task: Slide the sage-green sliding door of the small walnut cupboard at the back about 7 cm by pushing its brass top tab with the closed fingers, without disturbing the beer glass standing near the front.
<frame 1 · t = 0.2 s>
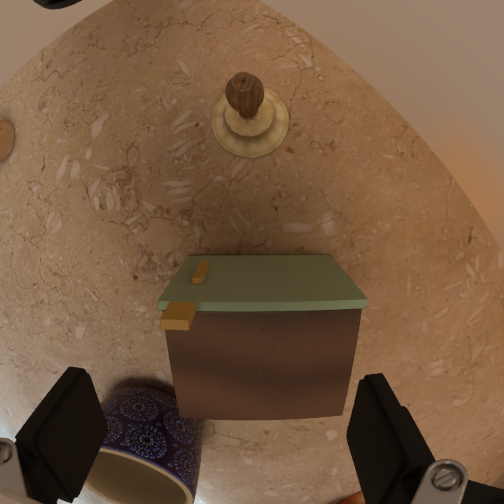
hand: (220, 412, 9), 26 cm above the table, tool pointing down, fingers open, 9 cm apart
sliding door: (261, 280, 28), point 8 cm above the table, slide at 0.0 cm
cupboard: (259, 313, 37), on the table
hand bell: (250, 121, 32), on the table
planter: (154, 412, 42), on the table
beer glass: (2, 140, 31), on the table
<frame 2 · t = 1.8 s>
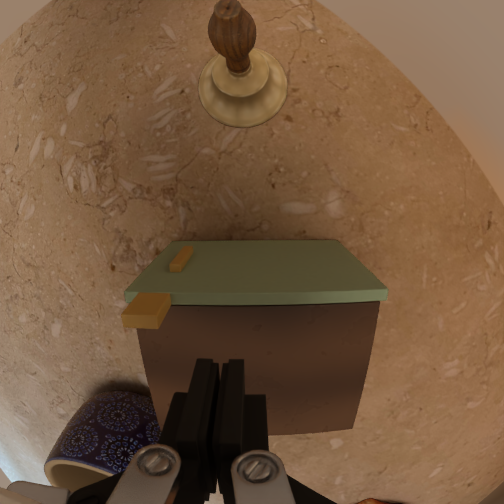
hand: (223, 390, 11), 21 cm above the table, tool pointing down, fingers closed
sliding door: (255, 267, 23), point 8 cm above the table, slide at 0.0 cm
cupboard: (255, 308, 32), on the table
hand bell: (242, 86, 27), on the table
planter: (140, 419, 37), on the table
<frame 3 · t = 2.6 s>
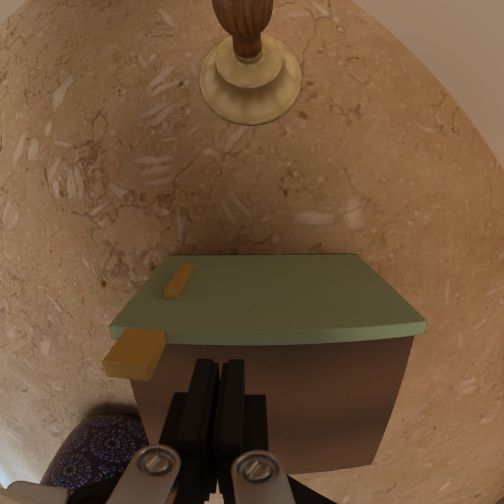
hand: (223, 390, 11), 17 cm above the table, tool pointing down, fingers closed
sliding door: (268, 292, 19), point 8 cm above the table, slide at 0.0 cm
cupboard: (263, 330, 28), on the table
hand bell: (250, 78, 23), on the table
planter: (137, 441, 33), on the table
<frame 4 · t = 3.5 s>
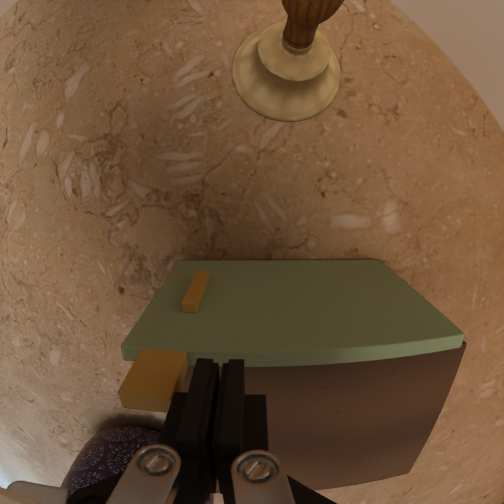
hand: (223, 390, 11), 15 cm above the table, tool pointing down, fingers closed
sliding door: (295, 303, 17), point 8 cm above the table, slide at 1.3 cm, touching gripper
cupboard: (294, 339, 27), on the table
hand bell: (286, 71, 21), on the table
planter: (153, 453, 32), on the table
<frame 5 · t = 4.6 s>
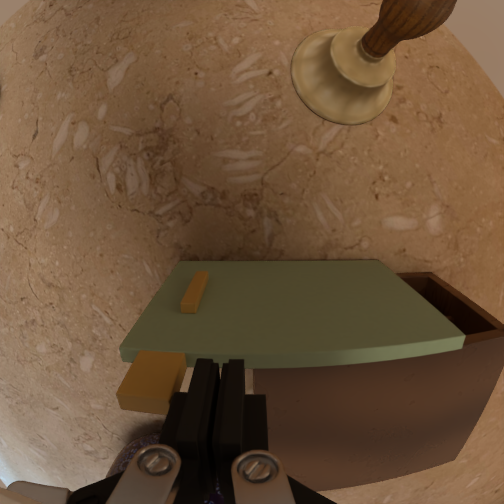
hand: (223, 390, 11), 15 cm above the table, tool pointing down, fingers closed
sliding door: (295, 304, 17), point 8 cm above the table, slide at 5.8 cm, touching gripper
cupboard: (343, 337, 27), on the table
hand bell: (342, 75, 21), on the table
planter: (187, 457, 32), on the table
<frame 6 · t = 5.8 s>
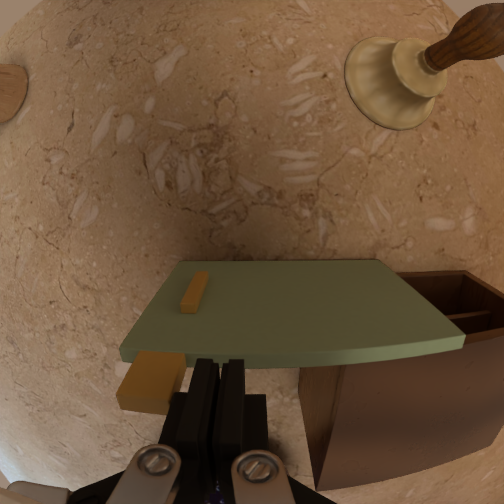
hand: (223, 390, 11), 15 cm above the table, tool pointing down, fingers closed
sliding door: (294, 304, 17), point 8 cm above the table, slide at 10.0 cm, touching gripper
cupboard: (386, 333, 27), on the table
hand bell: (391, 82, 21), on the table
beer glass: (8, 93, 20), on the table
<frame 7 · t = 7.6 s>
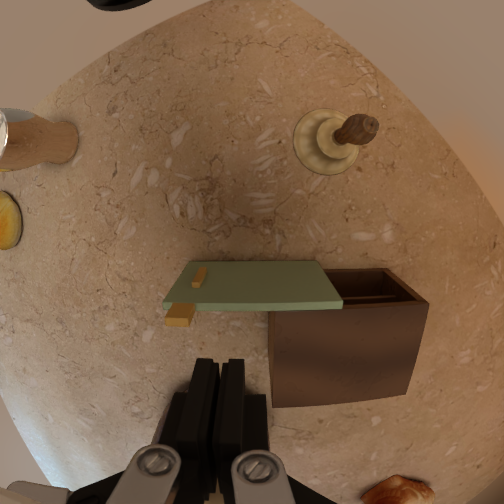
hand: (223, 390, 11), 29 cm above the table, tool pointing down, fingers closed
bread roll: (6, 219, 38), on the table
sliding door: (252, 284, 32), point 8 cm above the table, slide at 10.0 cm
cupboard: (327, 311, 41), on the table
ceramic vessel: (393, 490, 55), on the table
hand bell: (326, 141, 36), on the table
planter: (216, 410, 46), on the table
beer glass: (62, 142, 36), on the table
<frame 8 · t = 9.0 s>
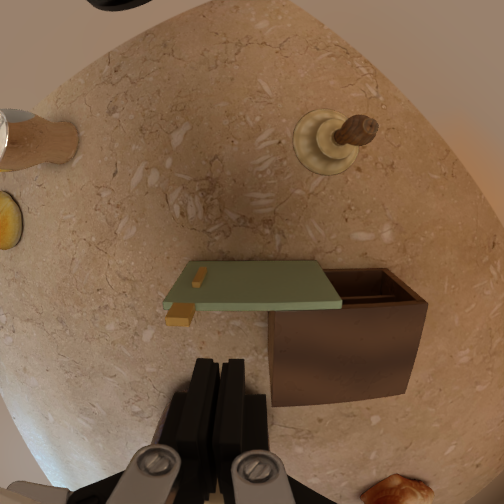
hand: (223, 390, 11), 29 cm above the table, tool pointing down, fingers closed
bread roll: (6, 219, 38), on the table
sliding door: (252, 284, 32), point 8 cm above the table, slide at 10.0 cm
cupboard: (327, 311, 42), on the table
ceramic vessel: (393, 489, 56), on the table
hand bell: (326, 142, 36), on the table
planter: (216, 409, 46), on the table
beer glass: (62, 142, 36), on the table
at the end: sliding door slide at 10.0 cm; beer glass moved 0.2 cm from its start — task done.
